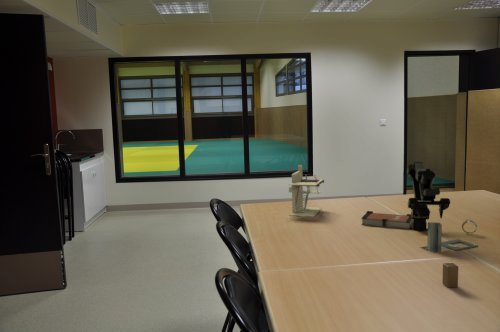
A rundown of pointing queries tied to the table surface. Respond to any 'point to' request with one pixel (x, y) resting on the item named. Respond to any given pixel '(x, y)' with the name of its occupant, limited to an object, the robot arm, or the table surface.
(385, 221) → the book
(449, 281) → the wooden block
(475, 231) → the ring
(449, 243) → the rail plate
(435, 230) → the grey clip
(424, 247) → the grey square plate
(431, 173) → the robot arm
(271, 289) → the table surface
